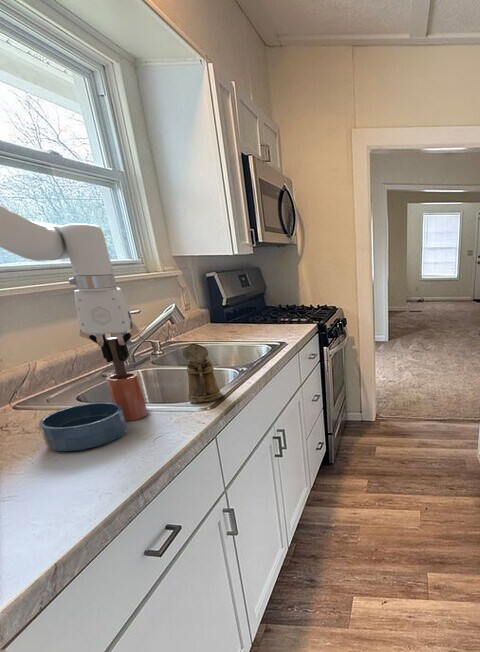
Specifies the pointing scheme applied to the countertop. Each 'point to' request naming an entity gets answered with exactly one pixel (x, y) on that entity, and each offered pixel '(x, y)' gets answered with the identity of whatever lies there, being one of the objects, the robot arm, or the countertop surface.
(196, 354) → the wooden mug
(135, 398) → the holder
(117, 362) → the stick
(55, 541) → the countertop surface
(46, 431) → the bowl
